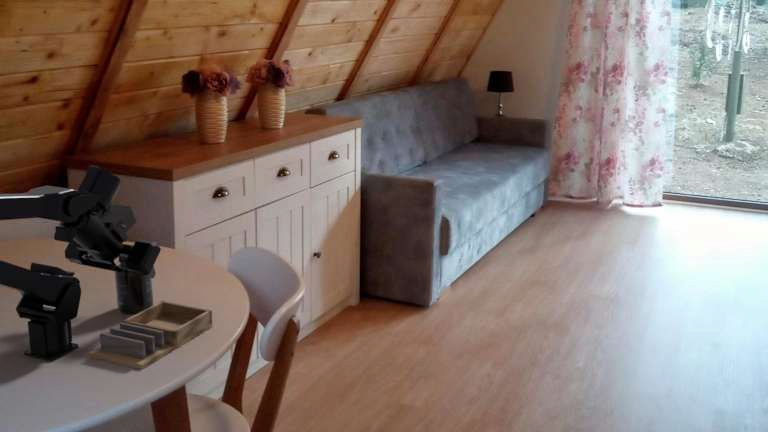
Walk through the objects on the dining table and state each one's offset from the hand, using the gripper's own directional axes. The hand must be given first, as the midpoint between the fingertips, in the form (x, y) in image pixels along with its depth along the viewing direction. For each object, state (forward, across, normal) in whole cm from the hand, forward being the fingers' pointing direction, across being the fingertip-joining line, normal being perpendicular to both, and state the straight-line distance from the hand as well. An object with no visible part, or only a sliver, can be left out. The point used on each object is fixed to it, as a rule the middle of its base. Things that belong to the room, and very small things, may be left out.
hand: (134, 272), depth 162 cm
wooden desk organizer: (-3, -13, +13) cm, 19 cm away
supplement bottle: (+5, 0, +6) cm, 8 cm away
